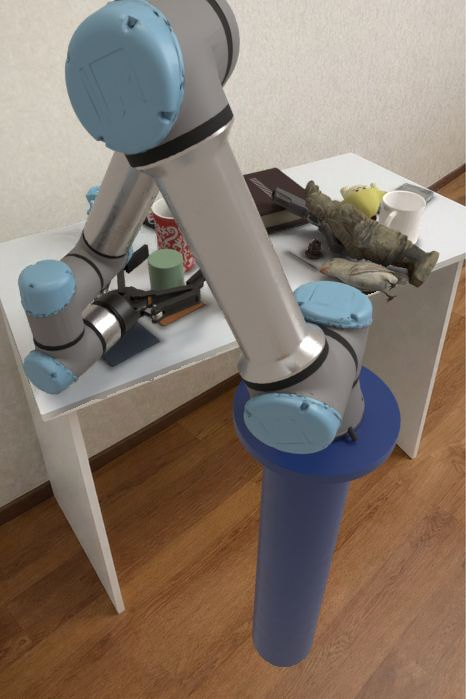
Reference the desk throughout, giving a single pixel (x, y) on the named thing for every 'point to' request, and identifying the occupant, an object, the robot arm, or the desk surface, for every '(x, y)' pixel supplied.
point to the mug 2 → (403, 212)
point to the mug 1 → (170, 233)
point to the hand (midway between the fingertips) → (176, 260)
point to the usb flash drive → (150, 219)
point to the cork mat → (178, 315)
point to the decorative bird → (364, 275)
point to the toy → (364, 198)
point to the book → (269, 211)
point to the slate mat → (130, 345)
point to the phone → (415, 189)
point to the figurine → (313, 250)
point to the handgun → (308, 218)
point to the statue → (370, 237)
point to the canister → (165, 269)
